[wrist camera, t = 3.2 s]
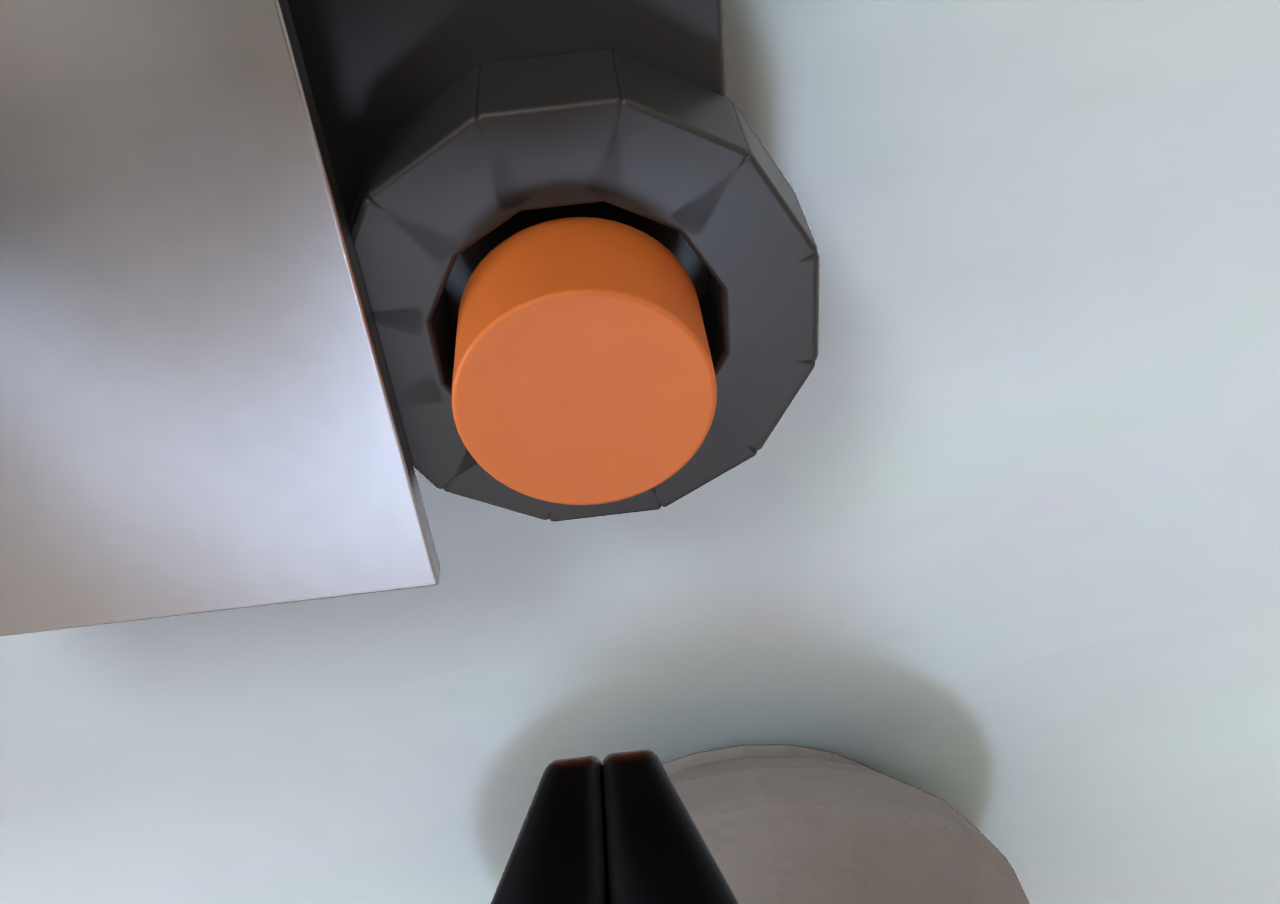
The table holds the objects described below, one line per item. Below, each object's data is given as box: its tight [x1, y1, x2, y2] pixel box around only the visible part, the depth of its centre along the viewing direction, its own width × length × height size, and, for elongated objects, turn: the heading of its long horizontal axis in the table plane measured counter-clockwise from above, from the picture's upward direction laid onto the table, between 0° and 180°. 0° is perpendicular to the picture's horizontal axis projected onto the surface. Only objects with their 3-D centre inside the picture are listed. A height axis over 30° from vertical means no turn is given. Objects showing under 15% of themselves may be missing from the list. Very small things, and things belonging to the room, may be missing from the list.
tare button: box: [452, 217, 717, 505], centre depth 14 cm, size 3×3×2 cm
